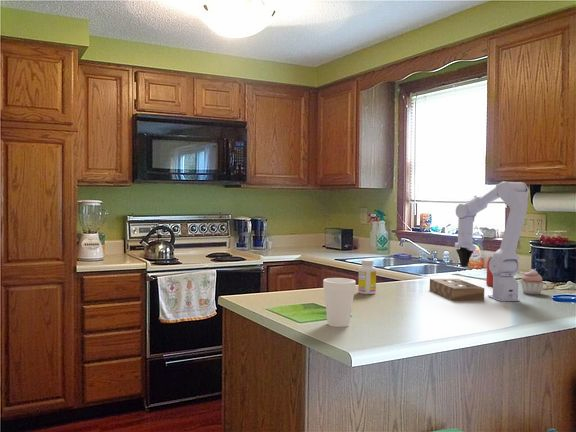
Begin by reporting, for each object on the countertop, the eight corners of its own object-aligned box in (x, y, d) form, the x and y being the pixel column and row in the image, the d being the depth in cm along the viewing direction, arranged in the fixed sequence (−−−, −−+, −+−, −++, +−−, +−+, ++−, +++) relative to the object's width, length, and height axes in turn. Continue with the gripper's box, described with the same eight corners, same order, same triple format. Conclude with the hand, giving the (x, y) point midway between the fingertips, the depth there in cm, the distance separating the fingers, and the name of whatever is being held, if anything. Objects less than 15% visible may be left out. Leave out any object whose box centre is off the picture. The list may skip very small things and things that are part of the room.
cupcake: (521, 290, 229) (522, 266, 229) (546, 293, 224) (547, 268, 224) (516, 293, 222) (517, 268, 221) (541, 296, 217) (542, 271, 216)
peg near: (467, 297, 210) (468, 286, 210) (459, 297, 209) (459, 286, 209) (463, 295, 213) (464, 284, 213) (455, 295, 213) (455, 284, 213)
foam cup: (352, 320, 169) (353, 278, 169) (356, 328, 160) (358, 283, 159) (320, 320, 169) (321, 277, 168) (323, 328, 160) (325, 282, 159)
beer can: (504, 287, 237) (505, 259, 236) (489, 287, 237) (490, 258, 236) (499, 284, 243) (500, 257, 243) (484, 284, 243) (485, 256, 243)
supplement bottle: (375, 291, 219) (375, 259, 219) (376, 295, 213) (376, 261, 212) (357, 291, 220) (358, 258, 219) (358, 294, 213) (359, 260, 213)
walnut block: (484, 300, 206) (484, 288, 206) (453, 300, 204) (453, 288, 204) (457, 289, 228) (457, 278, 228) (429, 289, 226) (429, 278, 226)
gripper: (448, 232, 235) (447, 264, 236) (464, 234, 221) (463, 269, 221) (464, 232, 236) (463, 264, 237) (480, 234, 222) (479, 269, 222)
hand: (464, 266), depth 229 cm, fingers closed
